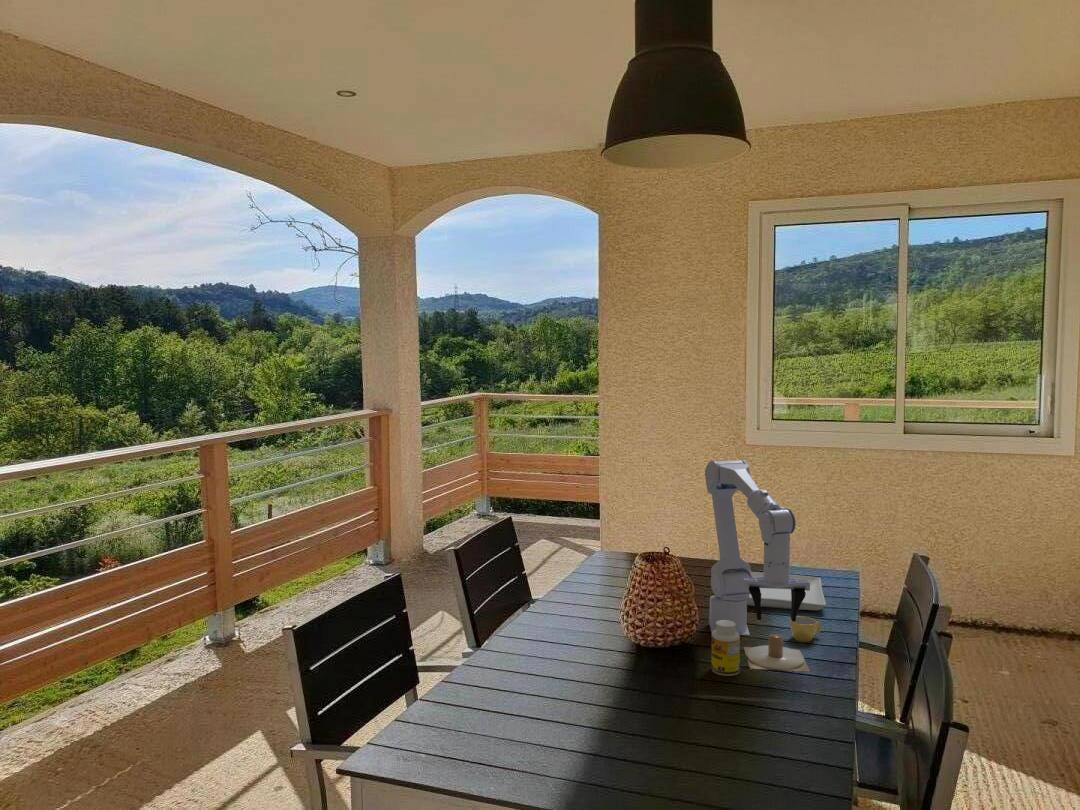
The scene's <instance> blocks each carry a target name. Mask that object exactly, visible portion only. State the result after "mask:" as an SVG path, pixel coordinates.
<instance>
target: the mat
mask: <svg viewBox="0 0 1080 810" xmlns="http://www.w3.org/2000/svg"><path fill="white" fill-rule="evenodd" d="M753 647H754V646H753ZM753 647H752V646H751V647H750V646H743V649H744V650H743V651H744V653H745V656H746V660H747V664H748V667H749V670H765V671H767V670H768V671H780V670H779V669H770V668H766V667H762V666H759V665H756V664H754V663H753V662H751V661H750V660H749V659H748V651H749V650H750V649H751V648H753ZM793 650H795V651H797V652H799V653H801V654H802V651H801V650H800V649H795V648H794V649H793ZM782 671H786V672H787V671H788V672H801V673H802V672H804V673H805V672H806V673H807V672H808V673H810V672H811V671H810V669H809V666H808V664H807V662H806V660H805V659H804V664H803V665H802V666H801V667H798V668H795V669H788V670H782Z"/></svg>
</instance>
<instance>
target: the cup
mask: <svg viewBox="0 0 1080 810" xmlns="http://www.w3.org/2000/svg"><path fill="white" fill-rule="evenodd" d="M789 627H790V632H791V634H792V637H793V638H794V640H796V641H799V642H803V643H804V642H808V643H809V642H812V640H813V638H814V637H815V635H817V634H819V633H820V632H821V630H822V623H821V622H819V621H817V619H815V618H813V617H809V616H801V615H797V616H796V621H792V619H791V617H790V618H789Z"/></svg>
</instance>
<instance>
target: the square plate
mask: <svg viewBox="0 0 1080 810" xmlns="http://www.w3.org/2000/svg"><path fill="white" fill-rule="evenodd" d="M751 573H752V575H753V578H757V577H764V571H762V572H760V571H751ZM789 578H792V579H800V580H809V582H810V591H806V590H805V592H806V595H805V598H804V599H803V601H802V603H801V605H800V607H799V610H798V611H820V610H822V609H823V608H825V607H826V606H827V603H826V599H825V596H824V595H825V594H824V591H823V586H822V579H821V578H820V577H818V576H808V575H799V574H797V575H796V574H790V573H789ZM760 592H761V607H764V608H773V609H785V610H791V605H792V600H791V589H773V588H760ZM747 606H751V607H755V604H754V601H753V598H752V596H751V594H750V598H747Z"/></svg>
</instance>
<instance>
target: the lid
mask: <svg viewBox="0 0 1080 810" xmlns="http://www.w3.org/2000/svg"><path fill="white" fill-rule="evenodd" d="M767 642H768V644H767V645H766V644H765V645H758V646H753V648H751V649H750V650H749V651H748V659H749V660H750V661H751V662H753V663H754V664H756V665H759V666H762V667H766V668H770V669H779V670H778V671H783V670H788V669H795V668H798V667H801V666H802V665H803V664H804V660H805V658H804V655H803V654H802V652H801V653H799V652H797V651H795V650H793V649H792V648H789V647H785V646H784V637H783V635H781V634H779V633H771V634H768V641H767Z"/></svg>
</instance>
